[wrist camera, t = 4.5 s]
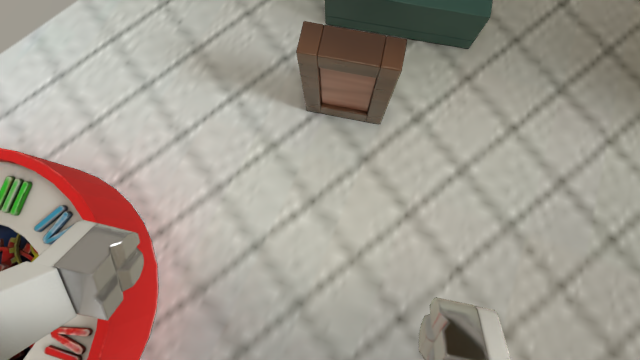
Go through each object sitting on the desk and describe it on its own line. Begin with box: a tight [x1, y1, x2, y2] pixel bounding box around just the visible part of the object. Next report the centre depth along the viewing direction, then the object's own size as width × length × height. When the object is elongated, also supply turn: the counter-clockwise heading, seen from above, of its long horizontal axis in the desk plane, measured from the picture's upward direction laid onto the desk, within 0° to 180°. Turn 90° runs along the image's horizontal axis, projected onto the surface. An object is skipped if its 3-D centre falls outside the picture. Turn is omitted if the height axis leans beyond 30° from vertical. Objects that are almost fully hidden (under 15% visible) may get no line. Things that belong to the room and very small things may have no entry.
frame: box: [296, 21, 407, 124], centre depth 25 cm, size 2×6×9 cm, turn 78°
